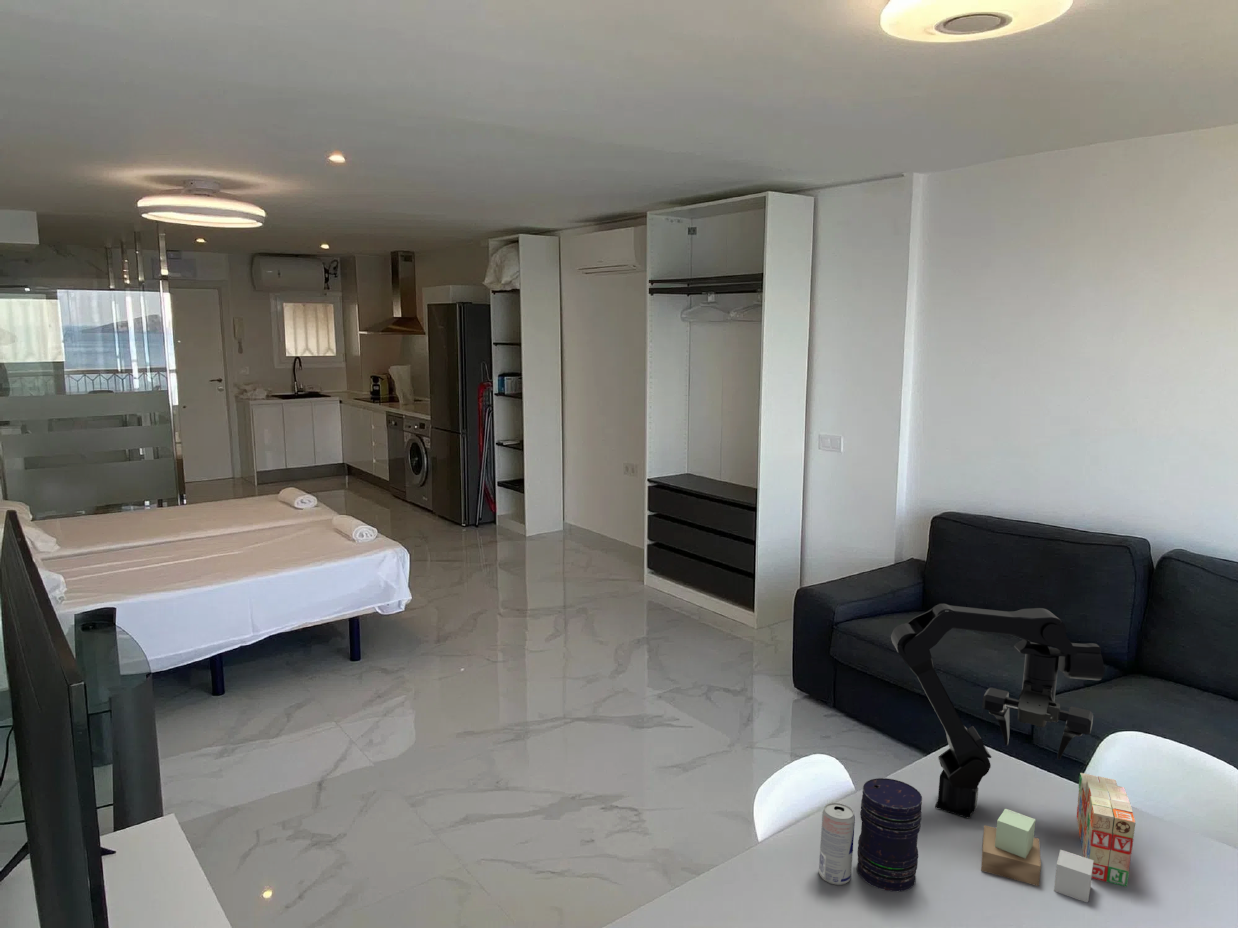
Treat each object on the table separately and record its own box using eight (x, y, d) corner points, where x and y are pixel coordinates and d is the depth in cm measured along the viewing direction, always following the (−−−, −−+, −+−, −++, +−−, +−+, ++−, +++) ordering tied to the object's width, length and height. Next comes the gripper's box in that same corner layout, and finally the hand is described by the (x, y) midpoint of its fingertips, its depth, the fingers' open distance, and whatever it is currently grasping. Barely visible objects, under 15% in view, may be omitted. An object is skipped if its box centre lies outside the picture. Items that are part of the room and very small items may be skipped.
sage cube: (994, 846, 143) (997, 820, 142) (1002, 834, 147) (1005, 808, 146) (1025, 858, 140) (1028, 831, 139) (1032, 845, 144) (1035, 819, 143)
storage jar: (925, 873, 141) (932, 793, 139) (901, 900, 134) (908, 815, 132) (871, 848, 147) (877, 771, 145) (845, 873, 140) (851, 792, 138)
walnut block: (980, 872, 142) (982, 851, 142) (982, 845, 150) (984, 824, 150) (1038, 887, 138) (1040, 866, 138) (1036, 859, 146) (1039, 838, 146)
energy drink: (851, 870, 141) (856, 805, 139) (849, 888, 136) (854, 822, 134) (820, 863, 143) (824, 799, 141) (817, 881, 138) (821, 815, 136)
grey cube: (1053, 891, 137) (1056, 863, 136) (1057, 875, 141) (1060, 849, 140) (1087, 902, 134) (1091, 875, 134) (1090, 887, 138) (1093, 860, 138)
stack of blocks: (1075, 815, 160) (1081, 757, 159) (1111, 824, 158) (1118, 764, 156) (1086, 877, 141) (1093, 811, 139) (1128, 888, 138) (1136, 821, 137)
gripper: (980, 676, 155) (972, 753, 157) (1092, 701, 145) (1082, 783, 147) (990, 659, 164) (984, 732, 166) (1097, 682, 154) (1088, 759, 156)
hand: (1032, 751), depth 159 cm, fingers open, 9 cm apart
